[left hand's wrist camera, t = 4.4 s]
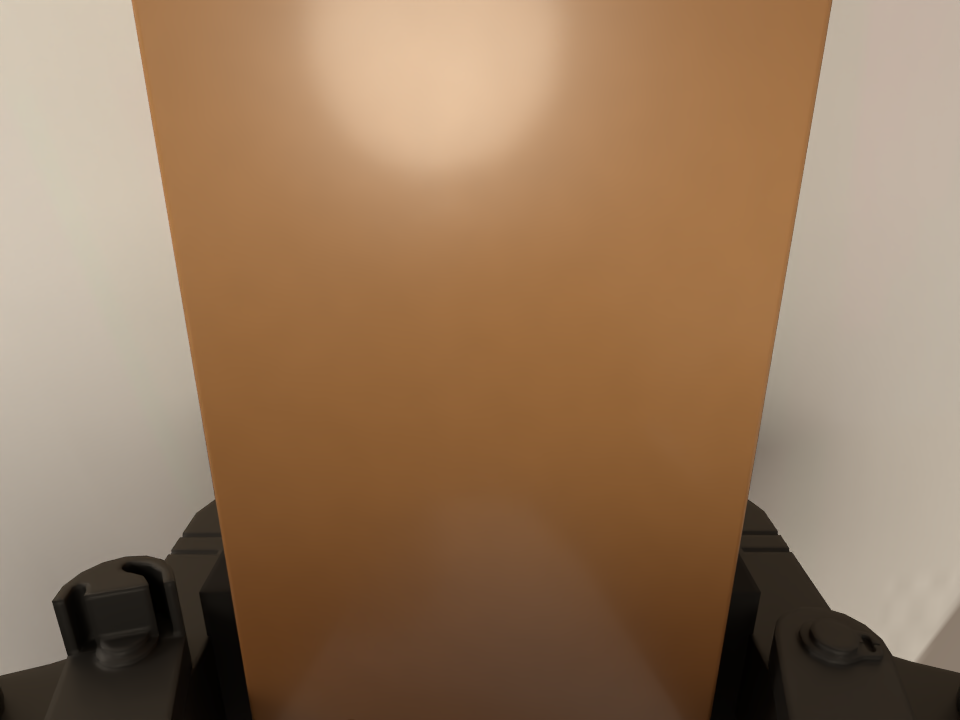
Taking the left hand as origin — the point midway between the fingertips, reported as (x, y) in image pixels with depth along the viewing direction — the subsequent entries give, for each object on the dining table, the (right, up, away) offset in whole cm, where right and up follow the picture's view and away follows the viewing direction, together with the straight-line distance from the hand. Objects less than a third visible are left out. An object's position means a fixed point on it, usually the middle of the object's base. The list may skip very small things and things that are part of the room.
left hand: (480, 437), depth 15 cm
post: (0, +27, -10) cm, 29 cm away
